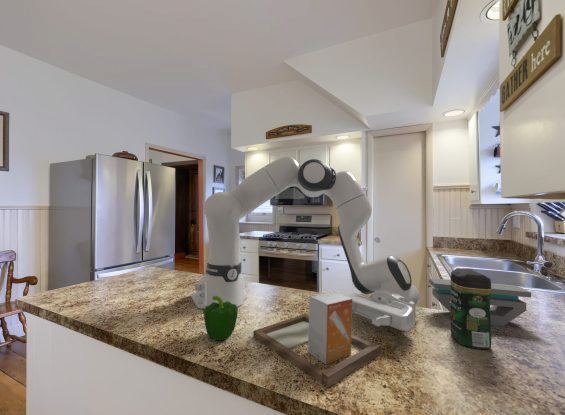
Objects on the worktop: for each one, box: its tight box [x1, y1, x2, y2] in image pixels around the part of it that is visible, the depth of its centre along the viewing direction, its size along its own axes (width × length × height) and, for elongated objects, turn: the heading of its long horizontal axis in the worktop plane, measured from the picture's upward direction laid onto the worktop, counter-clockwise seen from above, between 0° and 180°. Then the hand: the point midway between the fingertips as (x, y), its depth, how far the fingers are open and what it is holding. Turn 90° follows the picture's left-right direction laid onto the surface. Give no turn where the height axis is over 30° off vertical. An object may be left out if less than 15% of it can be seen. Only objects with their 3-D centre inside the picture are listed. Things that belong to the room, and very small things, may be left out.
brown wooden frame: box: [252, 313, 382, 388], centre depth 64 cm, size 25×19×2 cm
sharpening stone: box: [428, 277, 532, 327], centre depth 83 cm, size 25×8×11 cm, turn 73°
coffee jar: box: [450, 267, 492, 350], centre depth 68 cm, size 10×8×19 cm
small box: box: [307, 291, 353, 365], centre depth 60 cm, size 8×6×13 cm
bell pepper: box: [203, 296, 239, 341], centre depth 67 cm, size 8×8×10 cm
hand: (358, 316), depth 67 cm, fingers open, 8 cm apart
